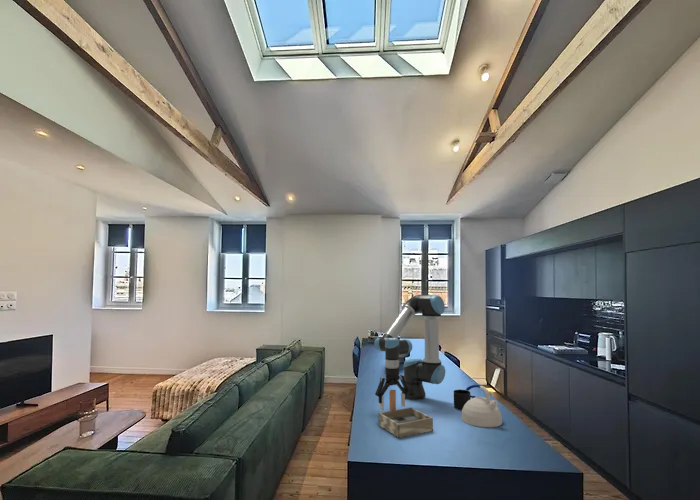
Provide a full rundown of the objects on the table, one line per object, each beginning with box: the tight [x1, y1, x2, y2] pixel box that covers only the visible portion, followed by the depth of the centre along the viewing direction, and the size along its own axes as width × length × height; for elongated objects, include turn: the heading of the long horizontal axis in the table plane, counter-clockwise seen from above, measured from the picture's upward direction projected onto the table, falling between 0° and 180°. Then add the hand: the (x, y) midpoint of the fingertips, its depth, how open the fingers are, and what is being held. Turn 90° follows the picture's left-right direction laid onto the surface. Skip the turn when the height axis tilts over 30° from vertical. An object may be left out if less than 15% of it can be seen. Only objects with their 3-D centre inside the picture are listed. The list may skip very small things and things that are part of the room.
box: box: [378, 407, 434, 438], centre depth 189 cm, size 18×20×6 cm
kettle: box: [461, 384, 503, 428], centre depth 200 cm, size 20×21×18 cm
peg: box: [388, 389, 397, 411], centre depth 205 cm, size 3×3×14 cm
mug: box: [453, 389, 475, 411], centre depth 221 cm, size 9×12×9 cm
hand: (392, 407), depth 205 cm, fingers open, 13 cm apart
